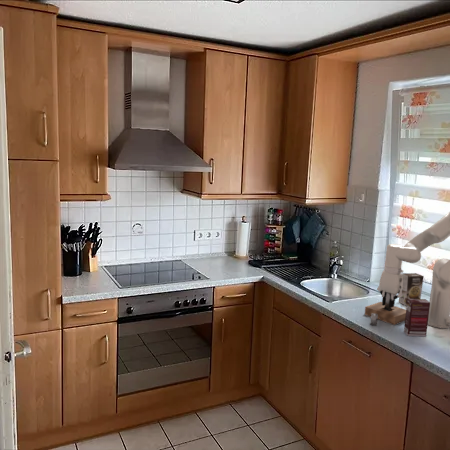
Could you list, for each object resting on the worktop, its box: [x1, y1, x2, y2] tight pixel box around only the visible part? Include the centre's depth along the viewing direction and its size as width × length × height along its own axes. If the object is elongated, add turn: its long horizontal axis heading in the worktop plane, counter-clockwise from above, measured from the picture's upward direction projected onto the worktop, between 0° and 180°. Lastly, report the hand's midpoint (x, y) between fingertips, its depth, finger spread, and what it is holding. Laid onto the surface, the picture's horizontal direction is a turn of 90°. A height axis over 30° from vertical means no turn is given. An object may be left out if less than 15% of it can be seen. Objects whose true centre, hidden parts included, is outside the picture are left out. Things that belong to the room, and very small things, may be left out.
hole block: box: [364, 301, 406, 326], centre depth 229 cm, size 16×14×4 cm
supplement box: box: [403, 298, 430, 337], centre depth 208 cm, size 9×5×16 cm, turn 92°
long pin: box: [384, 292, 391, 311], centre depth 228 cm, size 3×3×10 cm
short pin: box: [369, 313, 379, 327], centre depth 218 cm, size 3×3×5 cm
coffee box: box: [398, 272, 425, 307], centre depth 250 cm, size 9×6×16 cm
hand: (387, 305), depth 228 cm, fingers closed on long pin, 3 cm apart
